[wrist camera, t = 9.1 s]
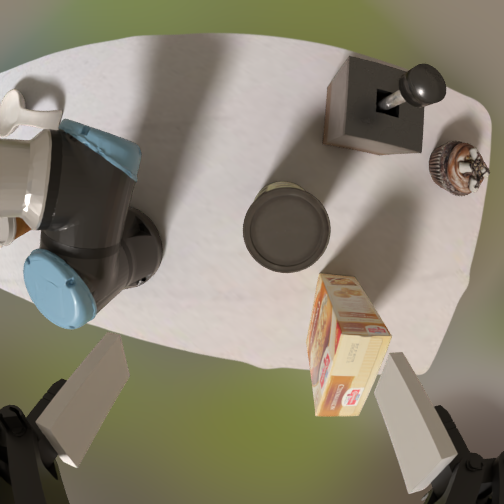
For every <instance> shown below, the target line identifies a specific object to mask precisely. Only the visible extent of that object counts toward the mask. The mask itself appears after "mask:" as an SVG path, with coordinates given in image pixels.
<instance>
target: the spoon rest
mask: <svg viewBox="0 0 504 504" xmlns="http://www.w3.org/2000/svg"><path fill="white" fill-rule="evenodd" d="M61 116H62V111H61V110H54V111H34V110H29V109H25V100H24V97H23V95H22V94H21V93H20V91H18V90H17V89H12V90H10V91H9V92H8V93H7V94H6V95H5V97H4V98H3V100H2V102H1V104H0V136H1V137H3V138H4V137H7V136H9V135H10V134H12V133H13V132H14V131H15V130H16V129H17V128H18V126H19V125H24V126H32V127H37V128H41V129H52V130H58V126H59V123H60V120H61Z"/></svg>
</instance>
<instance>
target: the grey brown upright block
mask: <svg viewBox="0 0 504 504" xmlns="http://www.w3.org/2000/svg"><path fill="white" fill-rule="evenodd" d="M404 73H406V72H405V71H402V70H399V69H396V68H393V67H389V66H386V65H383V64H379V63H375V62H372V61H368V60H364V59H360V58H356V57H351V56H349V57H348V59H347V60H346V61H345V63H344V64H343V66H342V67H341V69H340V70H339V71H338V73H337V74H336V76H335V77H334V79H333V80H332V82H331V83H330V84H329V86H328V87H327V99H326V112H325V123H324V134H323V144H324V145H330V146H335V147H341V148H347V149H352V150H357V151H362V152H367V153H371V154H376V155H391V154H408V153H421V152H422V140H423V124H424V107H414V106H412V105H410V104H409V103H407V102H404V103H402V104H400V105H397V106H395V107H393V108H391V109H388V110H386V111H385V114H382V113H379V112H376V100H377V101H380V100H382V99H384V98H386V97H387V96H389V95H391V94H393V93H394V92H396V91H398V90H399V85H398V84H399V79H400V77H401V76H402V75H403V74H404Z"/></svg>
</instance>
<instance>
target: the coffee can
mask: <svg viewBox="0 0 504 504" xmlns="http://www.w3.org/2000/svg"><path fill="white" fill-rule="evenodd" d="M330 232H331V228H330V220H329V217H328V214H327V212H326V210H325V208H324V206H323V205H322V204H321V202H320V201H319V200H318V199H317V198H316V197H314V196H313V195H312V194H310V193H308V192H306V191H305V190H304V189H303V188H301V187H300V186H298V185H296V184H294V183H291V182H283V181H282V182H275V183H272V184H270V185H267V186H266V187H264V188H263V189H262V190H261V191H260V192H259V193H258V194H257V196H256V198H255V200H254V202H253V203H252V205H251V206H250V207H249V209H248V211H247V213H246V216H245V219H244V224H243V237H244V242H245V244H246V247H247V249H248V251H249V253H250V254H251V256H252V257H253V258H254V259H255V260H256V261H257V262H258V263H259V264H261V265H262V266H263V267H265V268H267V269H269V270H272V271H275V272H280V273H293V272H298V271H301V270H304V269H306V268H308V267H310V266H311V265H313V264H314V263H315V262H316V261H317V260H318V259H319V258H320V257H321V256H322V254H323V253H324V252H325V250H326V248H327V245H328V243H329V239H330Z"/></svg>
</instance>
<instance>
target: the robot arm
mask: <svg viewBox="0 0 504 504" xmlns="http://www.w3.org/2000/svg"><path fill="white" fill-rule="evenodd" d="M58 129H59V130H52V129H43V130H42V131H41V132H40V133H38V134H37V135H36V136H35V137H34V138H32V139H31V140H16V139H1V138H0V218H4V217H20V218H22V219H23V220H24V221H25V222H26V224H27V225H28V226H29V227H30V228H31V229H32V230H41V239H40V248H39V249H36V250H33V251H32V252H31V254H30V256H28V257H27V259H26V261H25V263H24V270H23V272H24V281H25V285H26V288H27V291H28V293H29V295H30V297H31V299H32V301H33V302H34V304H35V305H36V307H37V308H38V309H39V311H40V312H41V313H42V314H43V315H44V316H45V317H46V318H47V319H48V320H50V321H51V322H52V323H54V324H56V325H57V326H60V327H62V328H66V329H76V328H79V327H81V326H83V325H84V324H86V323H87V322H88V321H90V320H92V319H94V317H95V315H96V314H97V313H98V312H99V311H100V310H101V309H102V308H104V307H105V306H106V305H107V304H108V303H109V302H110V301H111V300H112V299H113V298H114V297H115V296H116V295H118V294H119V293H120V292H121V291H122V290H124V289H128V288H133V287H137V286H140V285H142V284H144V283H145V282H147V281H148V280H149V279H150V278H151V277H152V276H153V275H154V274H155V273H156V271H157V269H158V268H159V265H160V262H161V258H162V243H161V239H160V236H159V233H158V231H157V229H156V227H155V225H154V224H153V222H152V221H151V220H150V219H149V218H148V217H147V216H146V215H145V214H144V213H142V212H141V211H139V210H137V209H135V208H131V207H129V204H130V200H131V196H132V192H133V188H134V184H135V182H137V179H138V178H137V173H138V169H139V165H140V161H141V150H140V148H139V146H138V145H137V144H136V143H134V142H132V141H129V140H126V139H124V138H121V137H118V136H115V135H113V134H110V133H107V132H104V131H101V130H98V129H95V128H92V127H89V126H87V125H84V124H81V123H78V122H75V121H72V120H69V119H63V120H62V122H61V124H59V127H58ZM129 376H130V374H129V370H128V366H127V362H126V358H125V353H124V349H123V344H122V340H121V335H120V334H115V333H110V332H107V333H106V335H105V336H104V337H103V338H102V339H101V341H100V342H99V343H98V344H97V345H96V346H95V347H94V349H93V350H92V351H91V352H90V353H89V355H88V356H87V357H86V358H85V360H84V361H83V362H82V363H81V365H79V367H78V368H77V369H76V370H75V372H74V373H73V374H72V375H71V377H70V378H69V379H68V380H64V379H60V380H59V381H57V382H56V383H54V384H53V385H52V386H51V387H50V388H49V390H48V391H47V393H46V394H45V395H44V396H43V398H42V399H41V400H40V401H39V402H38V403H37V405H36V406H35V407H34V408H33V410H32V411H31V412H30V414H29V415H28V416H27V417H25V415H24V414H23V412H22V411H21V409H20V408H19V407H17V406H15V405H8V406H5V407H3V408H2V409H0V504H70V503H69V501H68V498H67V495H66V492H65V489H64V485H63V482H62V479H61V475H60V471H59V467H58V464H57V462H56V459H55V458H56V457H57V455H59V457H60V458H61V459H62V460H63V462H65V463H67V464H69V465H72V466H74V467H76V468H78V467H79V465H80V463H81V461H82V459H83V457H84V455H85V453H86V452H87V449H88V448H89V446H90V444H91V442H92V441H93V439H94V437H95V435H96V434H97V432H98V430H99V428H100V426H101V425H102V422H103V421H104V419H105V418H106V415H107V414H108V412H109V411H110V409H111V407H112V405H113V404H114V402H115V400H116V398H117V397H118V395H119V393H120V392H121V389H122V388H123V386H124V384H125V383H126V381H127V380H128V378H129ZM374 394H375V397H376V399H377V402H378V405H379V407H380V410H381V413H382V415H383V418H384V421H385V424H386V426H387V429H388V432H389V435H390V438H391V441H392V444H393V447H394V450H395V453H396V456H397V459H398V462H399V465H400V468H401V471H402V474H403V477H404V481H405V484H406V487H407V491H408V493H409V494H410V493H414V492H417V491H420V490H424V488H426V487H427V486H428V485H429V484H430V483H431V484H432V487H433V488H432V489H431V490H430V491H429V492H428V493H426V494H425V495H424V496H423V498H422V499H421V500H424V499H425V498H426V497H427V498H426V500H425V502H424V504H504V451H503V452H502V453H501V454H500V455H499V456H498V457H497V458H491V459H483V458H482V457H481V456H480V455H478V454H477V453H470V451H469V450H468V448H467V446H466V444H465V442H464V440H463V438H462V436H461V435H460V433H459V431H458V429H457V428H456V425H455V424H454V422H453V420H452V418H451V416H450V414H449V413H448V411H447V410H445V409H444V408H443V407H442V406H441V405H439V406H435V407H434V406H433V404H432V402H431V401H430V399H429V397H428V395H427V394H426V392H425V390H424V388H423V386H422V385H421V383H420V381H419V379H418V378H417V376H416V374H415V372H414V371H413V369H412V367H411V366H410V364H409V362H408V361H407V359H406V357H405V356H404V354H403V352H398V353H389V355H388V358H387V361H386V364H385V366H384V369H383V372H382V374H381V377H380V379H379V382H378V384H377V387H376V389H375V392H374Z"/></svg>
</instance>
